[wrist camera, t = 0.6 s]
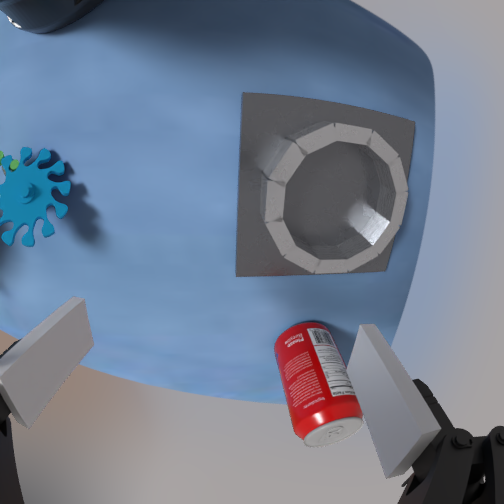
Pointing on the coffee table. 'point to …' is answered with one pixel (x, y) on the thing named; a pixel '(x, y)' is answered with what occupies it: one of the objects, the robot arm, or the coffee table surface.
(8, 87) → the coffee table surface
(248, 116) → the housing
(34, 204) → the blue spiky toy
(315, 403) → the soda can
